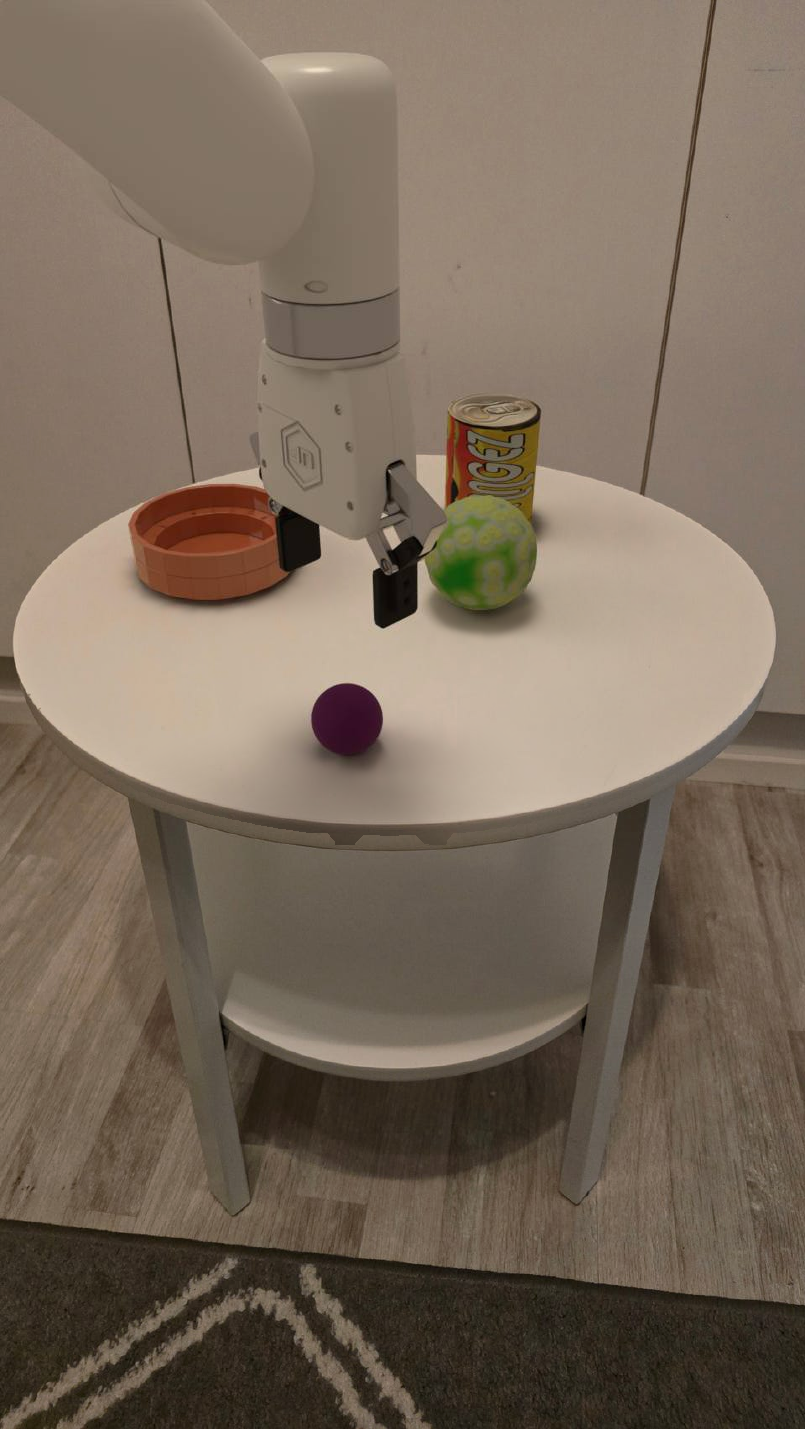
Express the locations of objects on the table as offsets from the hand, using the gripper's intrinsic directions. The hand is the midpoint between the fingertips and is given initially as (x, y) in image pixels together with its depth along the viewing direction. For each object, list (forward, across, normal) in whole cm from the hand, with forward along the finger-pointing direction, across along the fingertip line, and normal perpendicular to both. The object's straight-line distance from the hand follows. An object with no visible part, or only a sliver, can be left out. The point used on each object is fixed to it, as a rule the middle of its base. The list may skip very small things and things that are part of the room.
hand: (346, 590), depth 65 cm
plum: (+13, 0, 0) cm, 13 cm away
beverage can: (+14, -18, +34) cm, 41 cm away
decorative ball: (+14, -8, +22) cm, 27 cm away
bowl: (+13, -30, +8) cm, 34 cm away
